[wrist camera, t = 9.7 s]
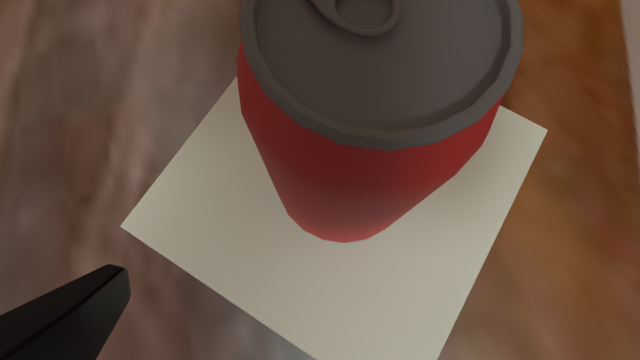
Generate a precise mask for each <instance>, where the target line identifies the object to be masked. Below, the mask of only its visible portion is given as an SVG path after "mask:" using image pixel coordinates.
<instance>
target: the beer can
mask: <svg viewBox="0 0 640 360" xmlns="http://www.w3.org/2000/svg"><path fill="white" fill-rule="evenodd" d="M239 19H240V26H241V33H242V40H241V45H240V49H239V53H238V57H237V82H238V90H239V98H240V106H241V113H242V116H243V118H244V120H245V122H246V125H247V127H248V129H249V131H250V133H251V136H252V138H253V140H254V142H255V144H256V147H257V149H258V151H259V153H260V156H261V158H262V160H263V162H264V164H265V167H266V169H267V171H268V173H269V176H270V178H271V180H272V182H273V184H274V187H275V189H276V191H277V193H278V195H279V198H280V200H281V202H282V203H283V205H284V207H285V209H286V211H287V213H288V215H289V216H290V217H291V218H292V219H293V220H294V221H295V222H296V223H297V224H298V225H299V226H300V227H301V228H302V229H303V230H304V231H306V232H308V233H310V234H312V235H314V236H316V237H318V238H320V239H322V240H327V241H333V242H340V243H349V242H355V241H360V240H366V239H368V238H370V237H372V236H374V235H376V234H377V233H379V232H381V231H383V230H385V229H386V228H388V227H389V226H390V225H391V224H393V223H394V222H395V221H397V220H398V219H399V218H401V217H402V216H403V215H404V214H406V213H407V212H408V211H410V210H411V209H412V208H413V207H415V206H416V205H417V204H419V203H420V202H421V201H422V200H424V199H425V198H426V197H428V196H429V195H430V194H432V193H433V192H434V191H435V190H437V189H438V188H439V187H441V186H442V185H443V184H444V183H446V182H447V181H448V180H450V179H451V178H452V177H454V176H455V175H456V174H457V173H458V171H459V170H460V169H461V168H462V167H463V166H464V165H465V164H466V163H467V162H468V160H469V159H470V158H471V157H472V156H473V155H474V154H475V153H476V152H477V151H478V149H479V148H480V147H481V146H482V144H483V143H484V141H485V139H486V137H487V135H488V133H489V131H490V128H491V126H492V123H493V121H494V118H495V116H496V113H497V111H498V108H499V106H500V103H501V101H502V98H503V95H504V93H505V92H506V91H507V90H508V89H509V86H510V84H511V81H512V79H513V76H514V74H515V71H516V69H517V66H518V63H519V61H520V58H521V56H522V53H523V14H522V11H521V9H520V6H519V3H518V1H517V0H243V2H242V6H241V11H240V15H239Z"/></svg>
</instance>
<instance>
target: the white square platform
mask: <svg viewBox="0 0 640 360" xmlns="http://www.w3.org/2000/svg"><path fill="white" fill-rule="evenodd" d="M547 131H548V130H547V129H545V128H543V127H541V126H539V125H537V124H535V123H533V122H531V121H529V120H527V119H525V118H524V117H522V116H520V115H518V114H516V113H514V112H512V111H510V110H508V109H506V108H504V107H502V106H499V108H498V111H497V113H496V116H495V118H494V121H493V123H492V126H491V128H490V131H489V133H488V135H487V137H486V139H485V141H484V143H483V144H482V146H481V147H480V148H479V149H478V151H477V152H476V153H475V154H474V155H473V156H472V157H471V158H470V159H469V160H468V162H467V163H466V164H465V165H464V166H463V167H462V168H461V169H460V170H459V171H458V173H457V174H456V175H455V176H454V177H452V178H451V179H450V180H448V181H447V182H446V183H444V184H443V185H442V186H441V187H439V188H438V189H437V190H435V191H434V192H433V193H432V194H430V195H429V196H428V197H426V198H425V199H424V200H422V201H421V202H420V203H419V204H417V205H416V206H415V207H413V208H412V209H411V210H410V211H408V212H407V213H406V214H404V215H403V216H402V217H401V218H399V219H398V220H397V221H395V222H394V223H393V224H391V225H390V226H389V227H388V228H386V229H385V230H383V231H381V232H379V233H377V234H376V235H374V236H372V237H370V238H368V239H366V240H360V241H355V242H349V243H340V242H333V241H327V240H322V239H320V238H318V237H316V236H314V235H312V234H310V233H308V232H306V231H304V230H303V229H302V228H301V227H300V226H299V225H298V224H297V223H296V222H295V221H294V220H293V219H292V218H291V217H290V216H289V215H288V213H287V211H286V209H285V207H284V205H283V203H282V202H281V200H280V198H279V195H278V193H277V191H276V189H275V187H274V184H273V182H272V180H271V178H270V176H269V173H268V171H267V169H266V167H265V164H264V162H263V160H262V158H261V156H260V153H259V151H258V149H257V147H256V144H255V142H254V140H253V138H252V136H251V133H250V131H249V129H248V127H247V125H246V122H245V120H244V118H243V116H242V113H241V106H240V98H239V90H238V82H237V76H236V78H235V79H234V80H233V81H232V83H231V84H230V85H229V87H228V88H227V89H226V90H225V92H224V93H223V94H222V96H221V97H220V98H219V99H218V101H217V102H216V103H215V105H214V106H213V107H212V108H211V110H210V111H209V112H208V114H207V115H206V116H205V117H204V119H203V120H202V121H201V123H200V124H199V125H198V127H197V128H196V129H195V130H194V132H193V133H192V134H191V136H190V137H189V138H188V139H187V141H186V142H185V143H184V145H183V146H182V147H181V148H180V150H179V151H178V152H177V154H176V155H175V156H174V157H173V159H172V160H171V161H170V163H169V164H168V165H167V167H166V168H165V169H164V170H163V172H162V173H161V174H160V176H159V177H158V178H157V179H156V181H155V182H154V183H153V185H152V186H151V187H150V188H149V190H148V191H147V192H146V194H145V195H144V196H143V197H142V199H141V200H140V201H139V203H138V204H137V205H136V206H135V208H134V209H133V210H132V212H131V213H130V214H129V216H128V217H127V218H126V219H125V221H124V222H123V223H122V225H121V226H120V227H122V228H123V229H125V230H126V231H128V232H129V233H131V234H132V235H133V236H135V237H136V238H138V239H139V240H141V241H142V242H144V243H145V244H147V245H148V246H150V247H151V248H153V249H154V250H156V251H157V252H158V253H160V254H161V255H163V256H164V257H166V258H167V259H169V260H170V261H172V262H173V263H175V264H176V265H178V266H179V267H181V268H182V269H183V270H185V271H186V272H188V273H189V274H191V275H192V276H194V277H195V278H197V279H198V280H200V281H201V282H203V283H204V284H206V285H207V286H208V287H210V288H211V289H213V290H214V291H216V292H217V293H219V294H220V295H222V296H223V297H225V298H226V299H228V300H229V301H230V302H232V303H233V304H235V305H236V306H238V307H239V308H241V309H242V310H244V311H245V312H247V313H248V314H250V315H251V316H253V317H254V318H255V319H257V320H258V321H260V322H261V323H263V324H264V325H266V326H267V327H269V328H270V329H272V330H273V331H275V332H276V333H278V334H279V335H280V336H282V337H283V338H285V339H286V340H288V341H289V342H291V343H292V344H294V345H295V346H297V347H298V348H300V349H301V350H303V351H304V352H305V353H307V354H308V355H310V356H311V357H313V358H314V359H316V360H437V359H438V357H439V355H440V352H441V350H442V348H443V346H444V344H445V342H446V340H447V338H448V336H449V334H450V332H451V330H452V328H453V326H454V323H455V321H456V319H457V317H458V315H459V313H460V311H461V309H462V307H463V305H464V303H465V301H466V299H467V296H468V294H469V292H470V290H471V288H472V286H473V284H474V282H475V280H476V278H477V276H478V274H479V272H480V270H481V267H482V265H483V263H484V261H485V259H486V257H487V255H488V253H489V251H490V249H491V247H492V245H493V243H494V241H495V238H496V236H497V234H498V232H499V230H500V228H501V226H502V224H503V222H504V220H505V218H506V216H507V214H508V212H509V209H510V207H511V205H512V203H513V201H514V199H515V197H516V195H517V193H518V191H519V189H520V187H521V185H522V183H523V180H524V178H525V176H526V174H527V172H528V170H529V168H530V166H531V164H532V162H533V160H534V158H535V156H536V153H537V151H538V149H539V147H540V145H541V143H542V141H543V139H544V137H545V135H546V133H547Z"/></svg>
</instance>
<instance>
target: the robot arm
mask: <svg viewBox="0 0 640 360" xmlns="http://www.w3.org/2000/svg"><path fill="white" fill-rule="evenodd" d="M130 295H131V290H130V283H129V275H128V270H127V269H126V268H125V267H121V266H117V265H112V264H108V265H105V266H103V267H101V268H99V269H97V270H94V271H92V272H90V273H88V274H86V275H84V276H82V277H80V278H78V279H76V280H73V281H71V282H69V283H67V284H65V285H63V286H61V287H59V288H57V289H55V290H53V291H50V292H48V293H46V294H44V295H42V296H40V297H38V298H36V299H34V300H32V301H29V302H27V303H25V304H23V305H21V306H19V307H17V308H15V309H13V310H11V311H9V312H6V313H4V314H2V315H0V360H96V358H97V356H98V355H99V353H100V351H101V350H102V348H103V346H104V344H105V342H106V341H107V339H108V337H109V335H110V334H111V332H112V330H113V328H114V327H115V325H116V323H117V321H118V320H119V318H120V316H121V314H122V313H123V311H124V309H125V307H126V306H127V304H128V302H129V299H130Z"/></svg>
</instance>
